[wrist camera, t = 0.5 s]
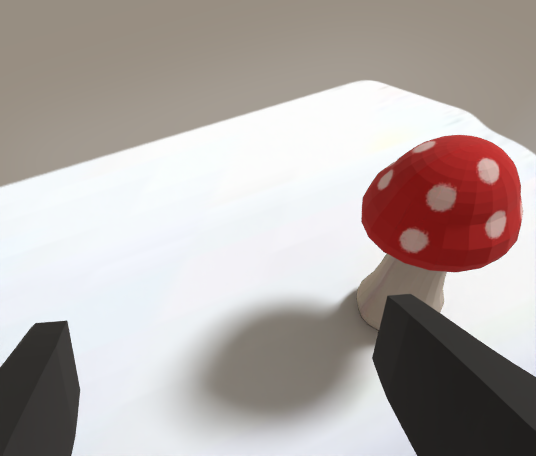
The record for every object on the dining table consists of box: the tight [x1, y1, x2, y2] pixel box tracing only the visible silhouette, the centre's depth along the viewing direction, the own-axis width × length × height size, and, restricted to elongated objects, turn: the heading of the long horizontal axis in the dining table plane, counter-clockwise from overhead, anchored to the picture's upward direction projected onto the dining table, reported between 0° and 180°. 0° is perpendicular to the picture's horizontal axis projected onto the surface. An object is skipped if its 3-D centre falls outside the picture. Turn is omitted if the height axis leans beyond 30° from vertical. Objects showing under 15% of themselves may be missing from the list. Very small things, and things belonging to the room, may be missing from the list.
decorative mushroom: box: [357, 135, 523, 330], centre depth 30 cm, size 10×9×15 cm
